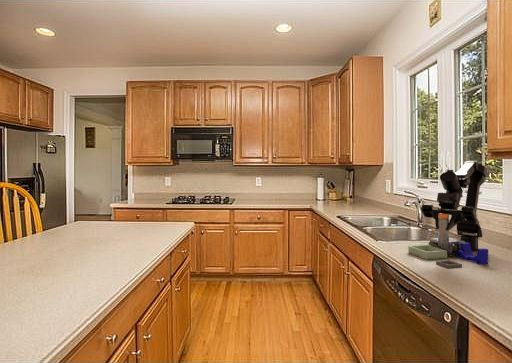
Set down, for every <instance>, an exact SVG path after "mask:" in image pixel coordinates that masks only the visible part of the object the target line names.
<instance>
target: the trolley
mask: <svg viewBox="0 0 512 363" xmlns="http://www.w3.org/2000/svg"><path fill="white" fill-rule="evenodd" d="M429 240H430V241H429V242H428V243H427V245H429V246H433V247H434V248H433V250H435V247H436V248H439V249H443V250H446V251H447V257H453V256H454V255H456V256H457V250H461V243H465V241H463V240H460V239H459V238H453V237H450V236H449V247H441V246H438V237H434V238H429Z"/></svg>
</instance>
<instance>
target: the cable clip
mask: <svg viewBox="0 0 512 363" xmlns="http://www.w3.org/2000/svg"><path fill="white" fill-rule="evenodd" d="M456 257H457V258H459V259H462V260H464V261H466V260H468V261H469V260H470V262H473V263H475V264H478V265H485V266H486V265H489V249H488V248H486V247H485V248H479V247H478V251H476V254H474V251H472V250H471V247H470V243H461V250H457V255H456Z"/></svg>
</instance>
